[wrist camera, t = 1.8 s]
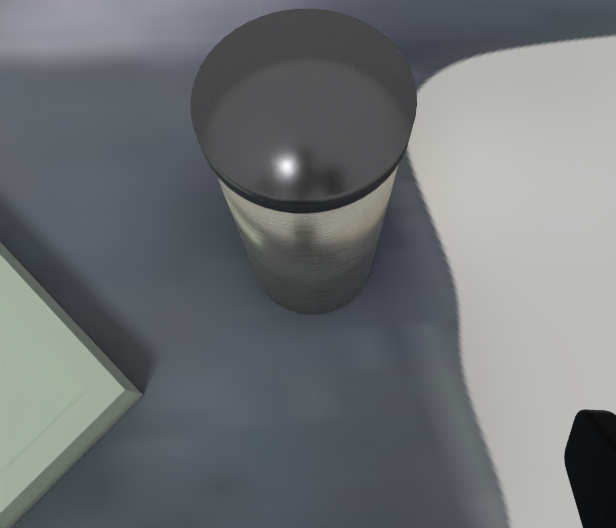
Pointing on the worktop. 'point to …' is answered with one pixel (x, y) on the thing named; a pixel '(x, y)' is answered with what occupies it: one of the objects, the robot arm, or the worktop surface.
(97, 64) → the worktop surface
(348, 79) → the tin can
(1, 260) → the tray
